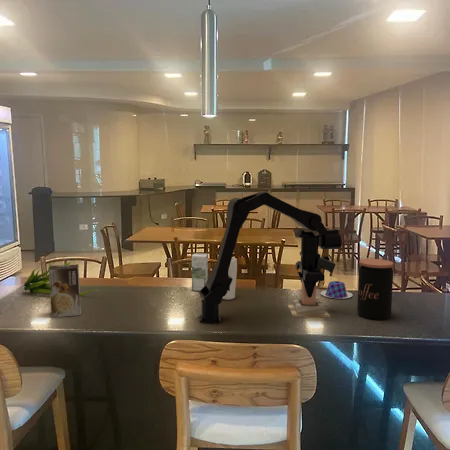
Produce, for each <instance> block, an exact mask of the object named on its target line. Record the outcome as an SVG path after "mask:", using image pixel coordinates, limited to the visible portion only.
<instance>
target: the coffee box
mask: <svg viewBox="0 0 450 450" xmlns="http://www.w3.org/2000/svg"><path fill="white" fill-rule="evenodd" d="M79 271H80V269H79V264H68V265H64V264H61V265H58V264H57V265H50V269H49V273H48V274H49V283H50V293H49V294H50V310H51V311H50V312H51V313H50V314H51V318H52V319H53V318H63V317H74V316H75V317H76V316H80V315H81V314H82V305H81V304H82V303H81V296H80V293H81V288H80V272H79Z"/></svg>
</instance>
